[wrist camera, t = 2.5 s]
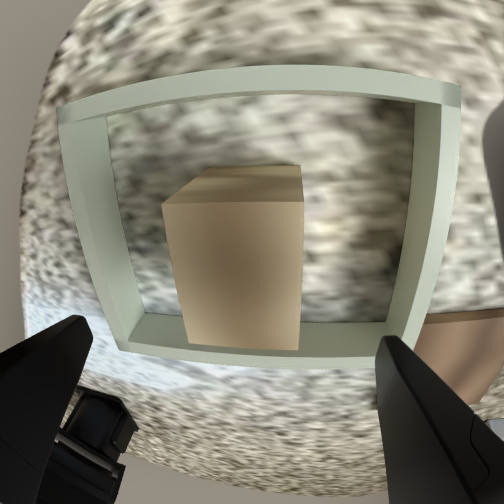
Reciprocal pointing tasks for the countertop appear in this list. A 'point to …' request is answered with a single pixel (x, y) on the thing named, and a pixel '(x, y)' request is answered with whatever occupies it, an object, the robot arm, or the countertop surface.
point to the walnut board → (464, 350)
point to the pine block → (239, 255)
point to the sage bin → (264, 83)
